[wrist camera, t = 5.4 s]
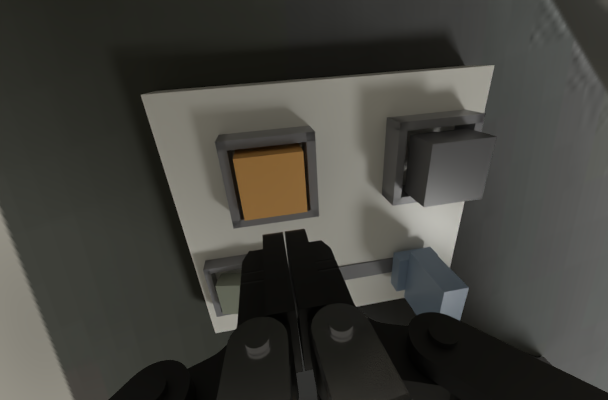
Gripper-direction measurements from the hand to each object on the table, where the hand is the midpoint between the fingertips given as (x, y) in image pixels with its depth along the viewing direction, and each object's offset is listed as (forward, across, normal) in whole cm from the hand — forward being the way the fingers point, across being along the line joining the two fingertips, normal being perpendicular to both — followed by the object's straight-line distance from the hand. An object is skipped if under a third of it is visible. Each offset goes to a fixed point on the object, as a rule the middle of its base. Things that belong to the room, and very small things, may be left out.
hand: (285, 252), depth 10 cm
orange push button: (+8, 0, 0) cm, 8 cm away
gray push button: (+6, -10, 0) cm, 12 cm away
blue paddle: (+8, -10, +9) cm, 15 cm away
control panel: (+10, -4, +4) cm, 12 cm away
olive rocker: (+7, +3, +8) cm, 11 cm away
